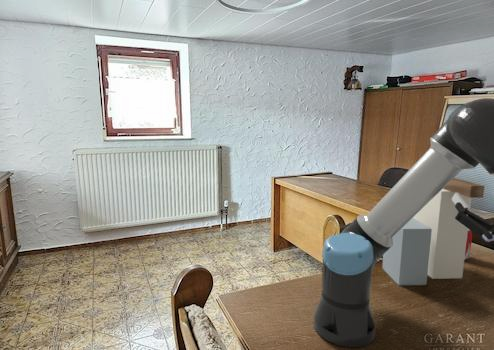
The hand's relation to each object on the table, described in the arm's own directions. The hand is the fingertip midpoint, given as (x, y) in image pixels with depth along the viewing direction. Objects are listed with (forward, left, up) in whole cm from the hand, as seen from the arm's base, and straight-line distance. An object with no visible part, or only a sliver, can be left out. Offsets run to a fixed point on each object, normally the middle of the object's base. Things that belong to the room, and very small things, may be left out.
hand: (477, 195), depth 93 cm
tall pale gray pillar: (-15, +10, -30) cm, 35 cm away
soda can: (+14, +24, -31) cm, 42 cm away
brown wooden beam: (-1, +10, 0) cm, 10 cm away
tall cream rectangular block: (-1, +15, -30) cm, 34 cm away
